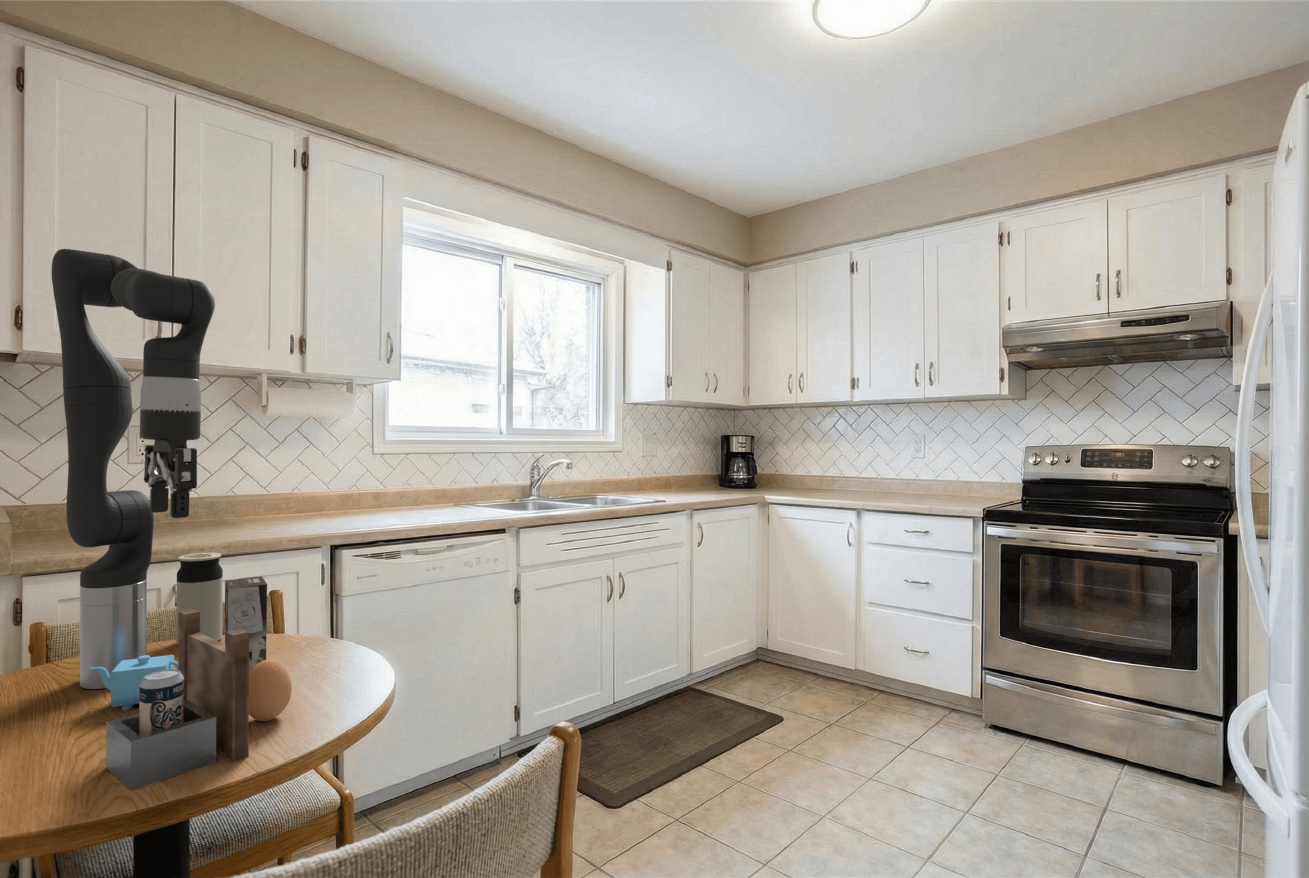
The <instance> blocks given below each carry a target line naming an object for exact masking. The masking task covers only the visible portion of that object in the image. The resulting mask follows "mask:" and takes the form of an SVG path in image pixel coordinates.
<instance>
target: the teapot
mask: <svg viewBox="0 0 1309 878" xmlns="http://www.w3.org/2000/svg"><path fill="white" fill-rule="evenodd" d="M175 667H176V670H178V660H177V661H176V660H175V655H174V654H169V655H158V656H151V655H147V654H146V655H144V656H140V657H138V658H137V659H130V660H122V661H121V662H120V663H119V664H118V665H117V667H116V668H115V669H114V670H113V671H112V672H111V676H110V675H109V673H108V671H107V670H106V669H105V668H104V667H92V668H90V669H93V670H96V671H98V672H99V673H100V675H101V677H102V679H103V682H104V685H105V686H106V688H105V689H107V690H108V691H110V708H115V707H116V708H117V707H121V708H120V710H121V711H128V710H131V709H133V707H134V705H139V698H140V684H141V682H142V681H143V678H144V677H145V675H147V674H149V673H152V672H155V671H160V670H167V669H175Z"/></svg>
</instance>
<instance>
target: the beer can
mask: <svg viewBox="0 0 1309 878" xmlns="http://www.w3.org/2000/svg"><path fill="white" fill-rule="evenodd" d="M138 705H139V707H138V708H139V712H138V713H139V736H141V735H145V734H148V733H152V732H155V731H158V730H162V729H165V728H169V727H172V726H176V725H179V724H182V723H184V677H183V675H182V674H181V672H180V671H179V670H177V668H176V669H175V668H174V669H167V670H160V671H155V672H152V673H149V674H147V675H145V677H144V678H143V681H142V682H141V684H140V698H139V704H138Z"/></svg>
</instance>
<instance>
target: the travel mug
mask: <svg viewBox="0 0 1309 878" xmlns="http://www.w3.org/2000/svg"><path fill="white" fill-rule="evenodd" d="M221 557H222V554H221V553H219V552H198V553H197V552H196V553H190V554H189V553H188V554H184V555H180V556H178V561H179V564H180V567H179V569H178V570H177V573H176V638H175V639H176V645H178V612H180V611H185V610H191V609H195V610H197V611H200V633H201V634H204V635H206V636H208V637H210V638H212V639H215V640H217V641H220V640H221V639H222V638H223V585H224V584H223V579H224V578H223V577H224V576H223V572H224V571H223V568H222V566H221V564H220V559H221Z"/></svg>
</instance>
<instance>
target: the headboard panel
mask: <svg viewBox="0 0 1309 878" xmlns="http://www.w3.org/2000/svg"><path fill="white" fill-rule="evenodd" d="M177 646H178V647H177V649H178V650H177V651H178V654H177V656H178V657H177V662H178V670H179V671H180V672H181V674H182V675H183V677H184V701H187V700H189V701H191V702H193V703H194V704H196V705H198V706H199V707H201V708H202V709H204V710H206V711H207V712H209V713H210V714H212V715H214V716H215V717H216V751H219V753H222V754H223V755H224V757H225V758H226V759H227V760H229V761H231V762H232V763H234V762H236V761H240V760H241V759H245V758H248V757H249V749H250V746H249V744H250V743H249V742H250V741H249V740H250V739H249V738H250V737H249V735H250V734H249V733H250V729H249V728H250V727H249V723H250V722H249V721H250V719H249V716H250V715H249V632H248V631H246V630H243V629H237V630H233V631H228V632H225V631H224V642H220V640H218V641H217V640H215V639H212V638H210V637H208V636H206V635H204V634H201V633H200V611H197V610H195V609H191V610H185V611H180V612H178V644H177Z"/></svg>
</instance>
